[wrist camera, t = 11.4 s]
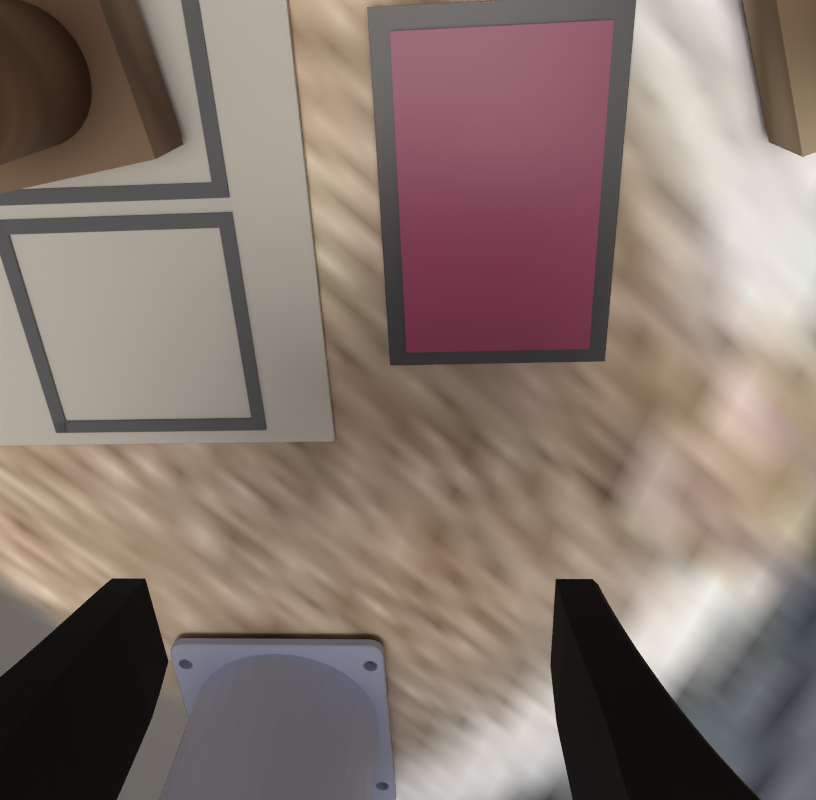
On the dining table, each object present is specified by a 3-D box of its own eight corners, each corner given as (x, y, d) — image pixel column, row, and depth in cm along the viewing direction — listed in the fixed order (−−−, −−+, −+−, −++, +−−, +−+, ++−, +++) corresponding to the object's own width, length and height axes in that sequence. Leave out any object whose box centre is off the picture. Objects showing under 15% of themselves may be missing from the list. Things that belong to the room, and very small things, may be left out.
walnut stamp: (189, 140, 19) (77, 199, 13) (33, 176, 20) (-138, 246, 14) (123, -58, 17) (-42, -89, 11) (-49, -12, 18) (-287, -18, 12)
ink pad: (598, 346, 21) (606, 365, 20) (392, 350, 22) (389, 369, 21) (627, -7, 17) (639, -7, 16) (371, 6, 18) (366, 7, 17)
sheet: (335, 438, 23) (334, 443, 23) (3, 442, 24) (-3, 446, 24) (272, -142, 16) (269, -144, 16) (-195, -110, 17) (-205, -112, 17)
